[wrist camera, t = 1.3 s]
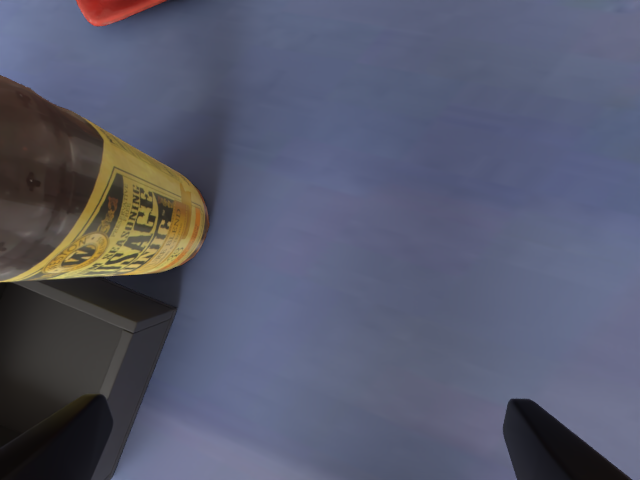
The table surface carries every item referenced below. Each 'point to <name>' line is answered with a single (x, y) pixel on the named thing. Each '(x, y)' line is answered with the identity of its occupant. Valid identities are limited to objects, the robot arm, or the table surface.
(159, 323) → the bin
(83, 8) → the butter dish
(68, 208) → the sauce bottle
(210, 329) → the table surface
